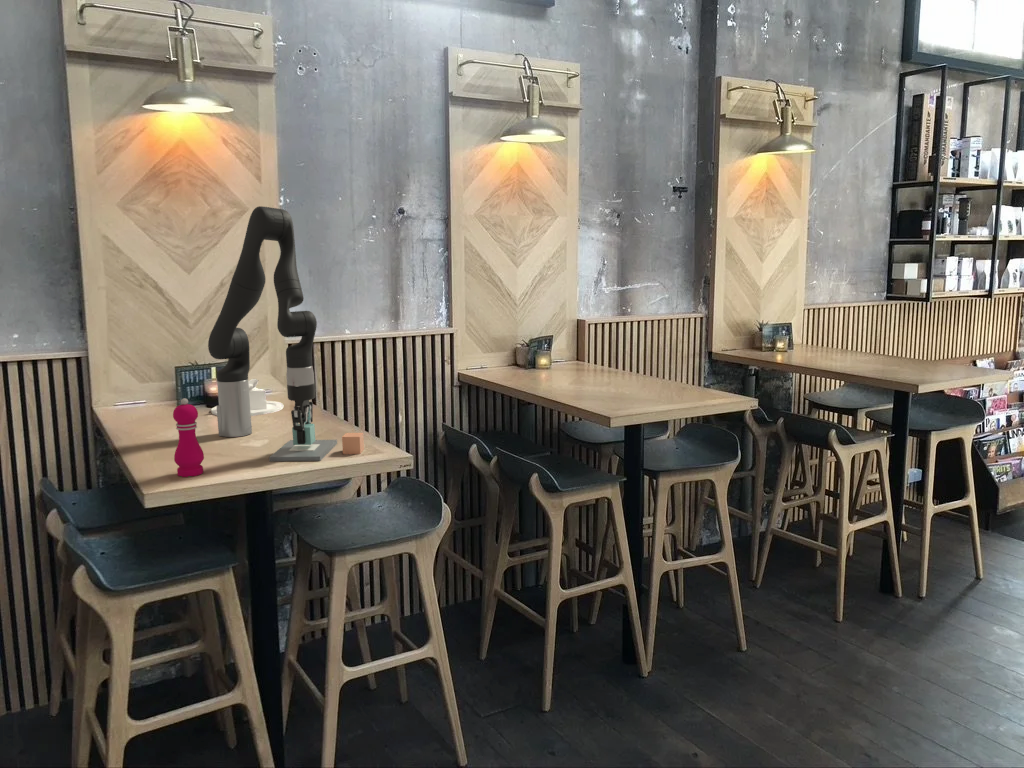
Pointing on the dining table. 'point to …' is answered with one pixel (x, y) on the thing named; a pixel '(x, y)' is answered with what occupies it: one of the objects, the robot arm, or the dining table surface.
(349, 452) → the orange cube
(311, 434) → the teal cube
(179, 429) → the pepper mill
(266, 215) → the robot arm
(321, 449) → the plate
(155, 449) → the dining table surface
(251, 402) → the dish
